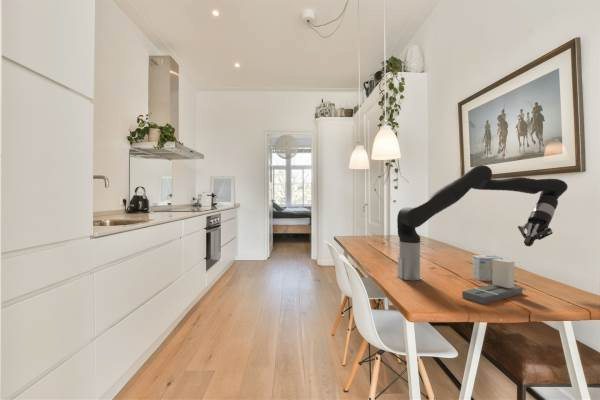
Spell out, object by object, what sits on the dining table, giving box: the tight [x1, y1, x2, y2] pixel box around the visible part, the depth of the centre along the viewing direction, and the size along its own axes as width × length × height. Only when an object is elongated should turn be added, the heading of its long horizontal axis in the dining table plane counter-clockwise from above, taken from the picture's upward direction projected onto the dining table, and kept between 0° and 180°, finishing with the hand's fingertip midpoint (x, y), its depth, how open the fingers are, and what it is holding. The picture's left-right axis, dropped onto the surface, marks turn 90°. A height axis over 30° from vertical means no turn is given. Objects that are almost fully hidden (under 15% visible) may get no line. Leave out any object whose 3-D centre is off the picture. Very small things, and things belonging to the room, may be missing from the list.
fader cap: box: [491, 258, 515, 288], centre depth 118 cm, size 4×6×10 cm, turn 28°
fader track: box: [461, 283, 523, 305], centre depth 115 cm, size 26×9×3 cm, turn 118°
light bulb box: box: [472, 254, 504, 282], centre depth 138 cm, size 11×7×11 cm, turn 84°
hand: (527, 245), depth 126 cm, fingers closed
